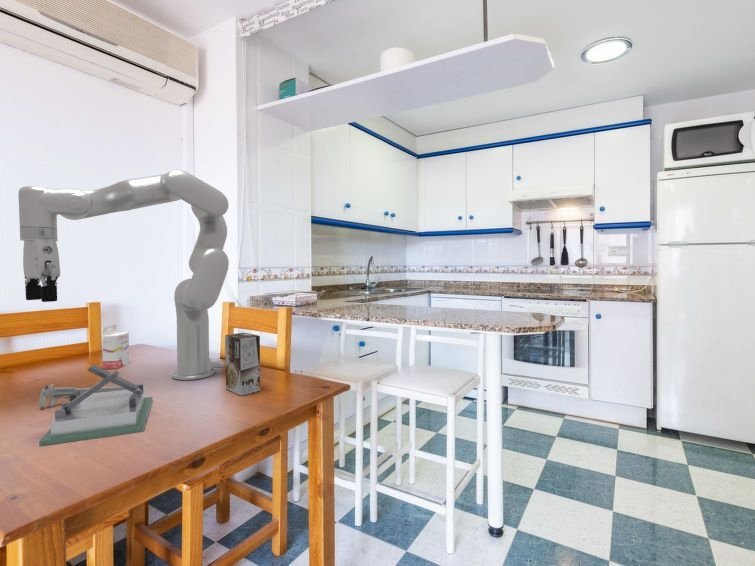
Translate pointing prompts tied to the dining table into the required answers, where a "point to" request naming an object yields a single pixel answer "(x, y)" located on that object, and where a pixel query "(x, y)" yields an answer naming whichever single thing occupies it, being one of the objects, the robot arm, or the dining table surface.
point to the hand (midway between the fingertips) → (41, 300)
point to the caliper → (67, 393)
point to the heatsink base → (100, 416)
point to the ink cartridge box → (115, 348)
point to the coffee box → (242, 363)
